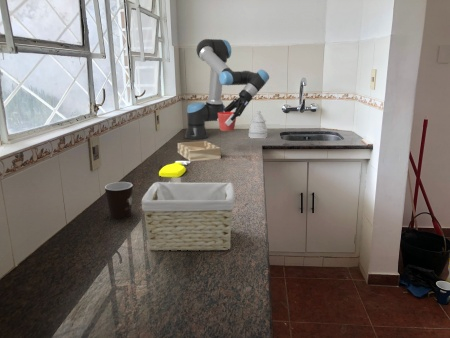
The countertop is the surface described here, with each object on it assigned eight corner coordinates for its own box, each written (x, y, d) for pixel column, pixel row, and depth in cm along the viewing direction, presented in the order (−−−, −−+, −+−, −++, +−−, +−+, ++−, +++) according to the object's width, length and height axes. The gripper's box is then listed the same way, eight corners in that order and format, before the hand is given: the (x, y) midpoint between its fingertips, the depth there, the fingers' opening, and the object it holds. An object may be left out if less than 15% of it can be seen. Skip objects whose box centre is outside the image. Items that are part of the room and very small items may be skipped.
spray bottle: (157, 177, 162) (172, 164, 186) (181, 178, 161) (193, 165, 184) (156, 170, 161) (171, 158, 185) (180, 171, 160) (193, 159, 184)
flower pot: (237, 128, 211) (237, 111, 208) (235, 131, 200) (236, 114, 197) (218, 128, 212) (218, 111, 209) (216, 131, 201) (216, 113, 198)
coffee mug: (120, 222, 114) (117, 192, 111) (101, 216, 119) (98, 187, 116) (146, 210, 124) (144, 182, 121) (128, 205, 128) (126, 178, 125)
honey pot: (268, 138, 249) (268, 112, 244) (249, 138, 249) (249, 112, 245) (266, 135, 262) (267, 110, 257) (248, 135, 262) (248, 110, 257)
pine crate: (177, 152, 208) (177, 143, 206) (205, 150, 215) (205, 140, 213) (190, 161, 189) (190, 151, 187) (220, 158, 195) (220, 148, 194)
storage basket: (142, 253, 96) (139, 200, 92) (155, 227, 111) (152, 180, 107) (234, 254, 95) (234, 200, 91) (234, 228, 111) (234, 181, 107)
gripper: (262, 99, 197) (235, 130, 195) (242, 96, 217) (218, 124, 215) (253, 90, 194) (226, 121, 192) (234, 87, 214) (210, 115, 212)
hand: (222, 122), depth 204 cm, fingers closed on flower pot, 11 cm apart
